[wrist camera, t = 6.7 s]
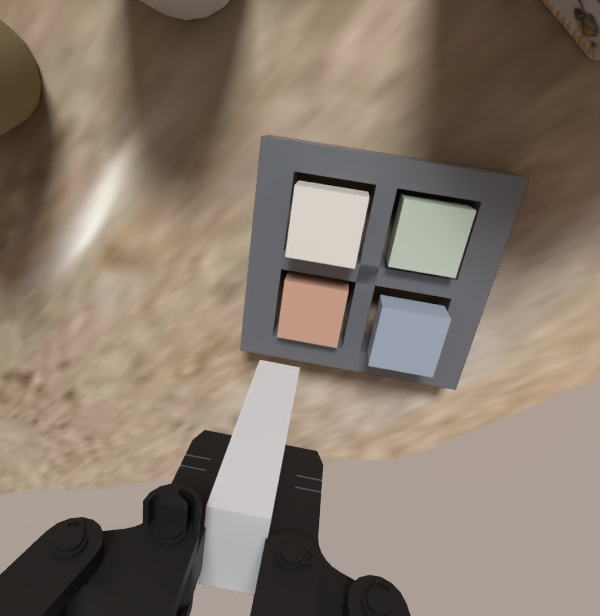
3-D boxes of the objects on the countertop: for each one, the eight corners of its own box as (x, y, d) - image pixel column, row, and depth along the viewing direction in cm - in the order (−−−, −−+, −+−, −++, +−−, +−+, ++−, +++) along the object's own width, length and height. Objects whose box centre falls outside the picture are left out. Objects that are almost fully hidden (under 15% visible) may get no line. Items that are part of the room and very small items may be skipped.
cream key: (292, 242, 27) (285, 256, 24) (301, 178, 26) (294, 185, 23) (354, 253, 27) (354, 268, 24) (367, 189, 25) (369, 197, 23)
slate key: (366, 342, 29) (368, 365, 27) (379, 288, 28) (382, 307, 25) (425, 352, 29) (432, 377, 26) (441, 298, 28) (451, 319, 25)
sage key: (384, 252, 28) (388, 266, 25) (398, 190, 27) (404, 198, 24) (445, 262, 28) (455, 278, 25) (463, 201, 27) (476, 210, 24)
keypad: (248, 333, 32) (240, 350, 30) (269, 135, 27) (261, 136, 24) (448, 369, 32) (455, 389, 29) (513, 173, 26) (529, 179, 24)
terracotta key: (283, 317, 31) (276, 337, 28) (291, 265, 29) (284, 280, 27) (338, 327, 31) (336, 348, 28) (349, 275, 29) (348, 291, 26)
